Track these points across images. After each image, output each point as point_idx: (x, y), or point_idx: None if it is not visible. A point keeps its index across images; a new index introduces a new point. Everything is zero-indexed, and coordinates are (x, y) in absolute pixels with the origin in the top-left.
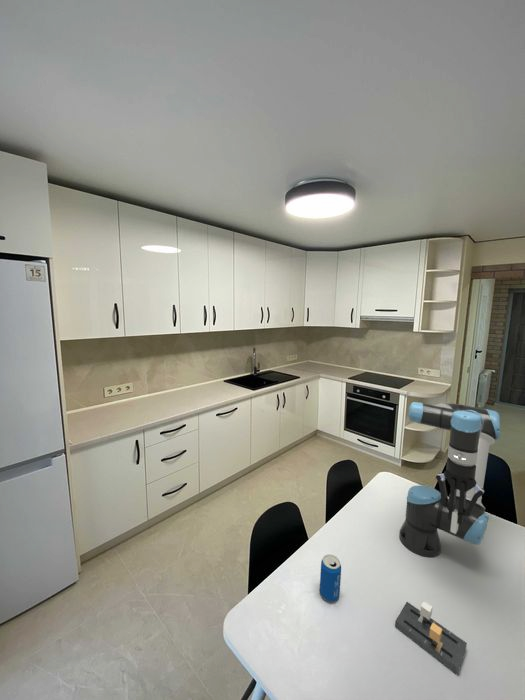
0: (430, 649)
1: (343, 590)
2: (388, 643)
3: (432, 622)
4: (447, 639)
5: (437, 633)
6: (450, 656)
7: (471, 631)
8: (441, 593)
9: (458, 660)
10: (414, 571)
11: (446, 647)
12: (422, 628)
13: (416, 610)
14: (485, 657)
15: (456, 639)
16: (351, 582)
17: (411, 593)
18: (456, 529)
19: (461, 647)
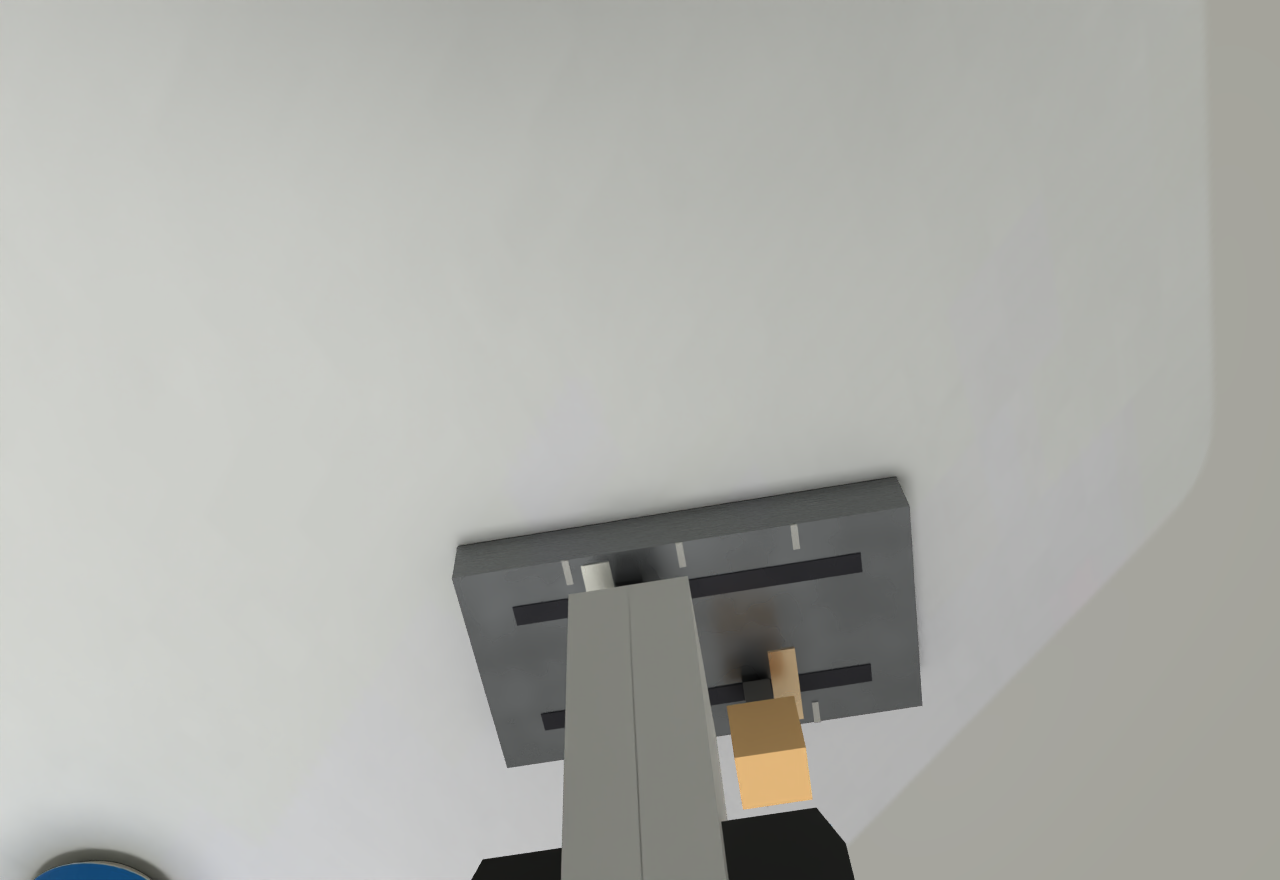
0: None
1: (118, 811)
2: (555, 833)
3: (673, 568)
4: (804, 597)
5: (795, 800)
6: (862, 682)
7: (881, 295)
8: (548, 133)
9: (906, 662)
10: (224, 109)
11: (821, 650)
12: None
13: (545, 584)
14: (1010, 415)
15: (848, 544)
16: (79, 722)
17: (394, 395)
18: (721, 785)
19: (893, 569)
